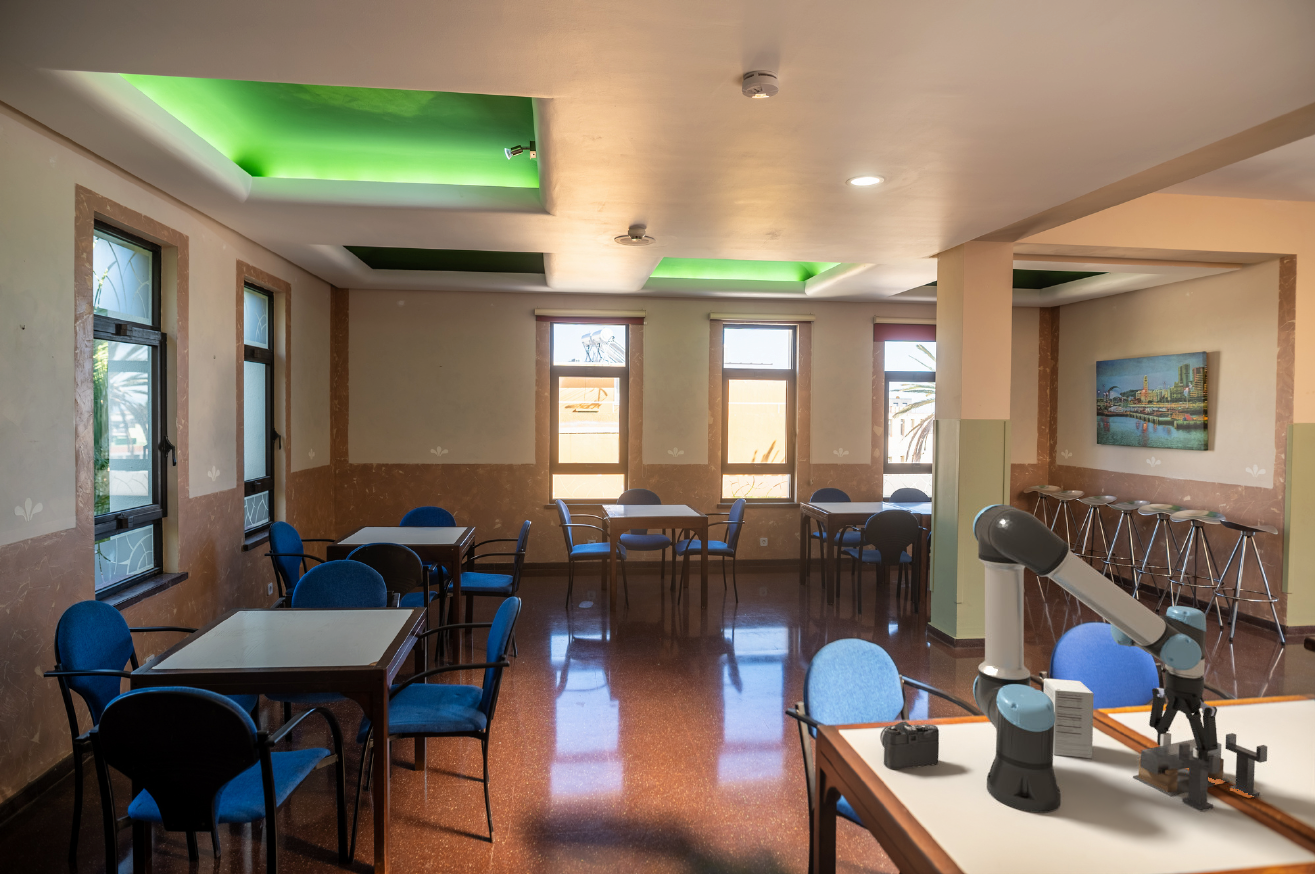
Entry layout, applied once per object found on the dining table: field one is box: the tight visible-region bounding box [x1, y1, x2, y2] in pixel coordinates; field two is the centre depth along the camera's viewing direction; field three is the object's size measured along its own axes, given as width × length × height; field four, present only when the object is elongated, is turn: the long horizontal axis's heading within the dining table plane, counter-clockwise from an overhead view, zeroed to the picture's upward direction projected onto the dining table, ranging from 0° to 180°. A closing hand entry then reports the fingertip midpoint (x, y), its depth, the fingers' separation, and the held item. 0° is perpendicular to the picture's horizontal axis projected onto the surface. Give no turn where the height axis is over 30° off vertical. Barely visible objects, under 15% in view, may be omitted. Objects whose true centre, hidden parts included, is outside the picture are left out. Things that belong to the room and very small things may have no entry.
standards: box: [1179, 732, 1268, 812], centre depth 163 cm, size 20×7×12 cm, turn 110°
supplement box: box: [1043, 678, 1095, 759], centre depth 187 cm, size 10×9×17 cm
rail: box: [1140, 738, 1222, 775], centre depth 172 cm, size 22×4×4 cm, turn 110°
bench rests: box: [1132, 757, 1230, 797], centre depth 172 cm, size 20×9×5 cm, turn 110°
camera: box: [879, 720, 940, 770], centre depth 181 cm, size 14×11×10 cm
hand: (1181, 767), depth 172 cm, fingers open, 7 cm apart
